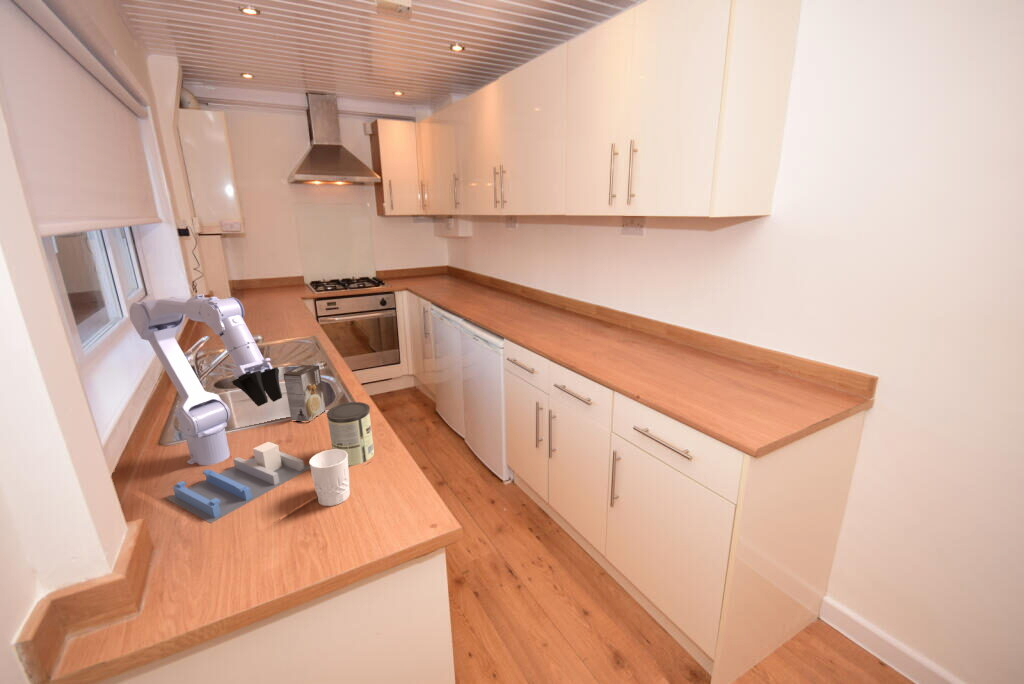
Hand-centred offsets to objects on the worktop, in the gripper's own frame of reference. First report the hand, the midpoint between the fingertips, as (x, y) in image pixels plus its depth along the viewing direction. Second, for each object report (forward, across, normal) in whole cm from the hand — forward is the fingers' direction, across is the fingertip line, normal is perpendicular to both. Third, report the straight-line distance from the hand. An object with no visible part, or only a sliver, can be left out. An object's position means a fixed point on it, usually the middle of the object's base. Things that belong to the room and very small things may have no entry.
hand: (270, 402), depth 101 cm
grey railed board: (+15, +6, +17) cm, 23 cm away
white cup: (+26, -1, -3) cm, 26 cm away
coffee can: (+22, +15, -6) cm, 27 cm away
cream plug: (+14, +11, +12) cm, 22 cm away
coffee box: (+7, +43, +10) cm, 45 cm away
